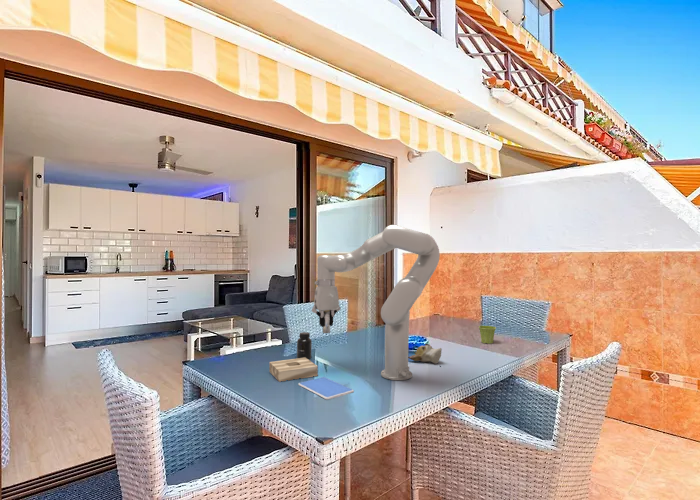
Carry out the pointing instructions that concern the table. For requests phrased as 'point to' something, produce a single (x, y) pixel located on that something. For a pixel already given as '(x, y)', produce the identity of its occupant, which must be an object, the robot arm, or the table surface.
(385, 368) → the robot arm
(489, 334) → the plant pot
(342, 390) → the tablet computer
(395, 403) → the table surface
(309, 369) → the block
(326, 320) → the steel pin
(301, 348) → the supplement bottle
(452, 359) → the table surface
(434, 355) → the ceramic sculpture
